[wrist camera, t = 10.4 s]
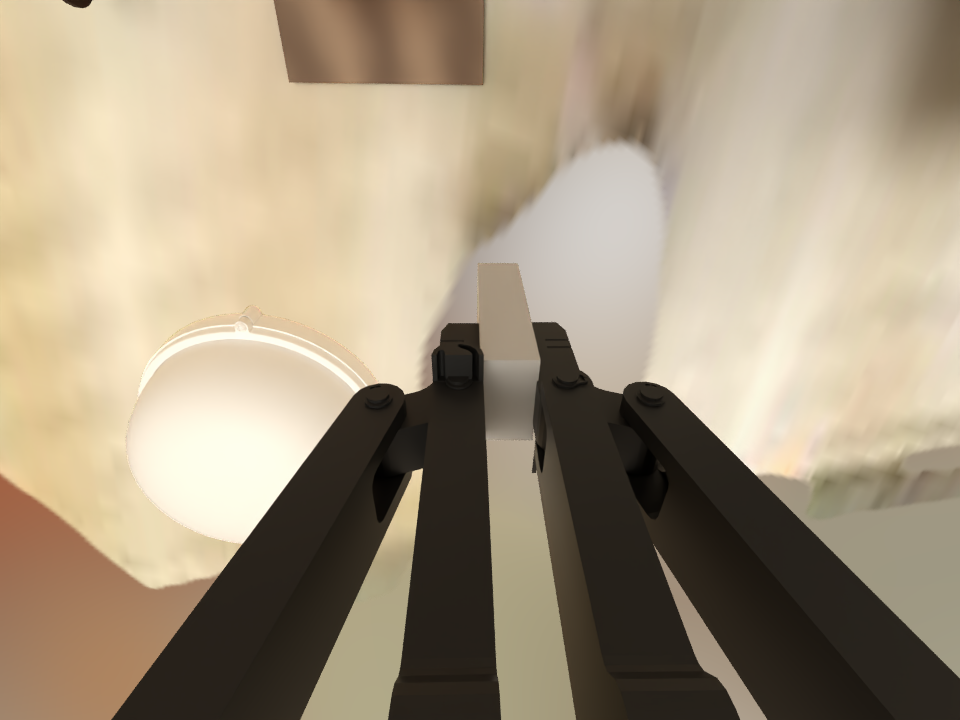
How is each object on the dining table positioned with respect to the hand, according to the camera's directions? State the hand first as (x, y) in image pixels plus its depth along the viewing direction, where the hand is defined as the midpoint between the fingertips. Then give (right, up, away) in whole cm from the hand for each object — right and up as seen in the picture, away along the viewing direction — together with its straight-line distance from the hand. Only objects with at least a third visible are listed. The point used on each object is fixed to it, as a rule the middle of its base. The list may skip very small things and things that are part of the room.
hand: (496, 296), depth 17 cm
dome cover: (-27, -9, +42) cm, 51 cm away
